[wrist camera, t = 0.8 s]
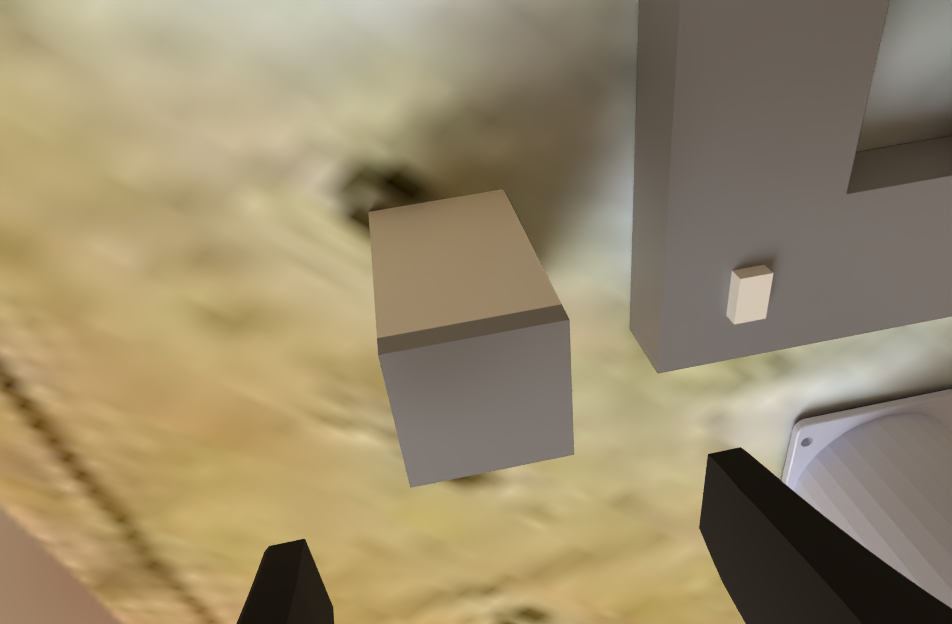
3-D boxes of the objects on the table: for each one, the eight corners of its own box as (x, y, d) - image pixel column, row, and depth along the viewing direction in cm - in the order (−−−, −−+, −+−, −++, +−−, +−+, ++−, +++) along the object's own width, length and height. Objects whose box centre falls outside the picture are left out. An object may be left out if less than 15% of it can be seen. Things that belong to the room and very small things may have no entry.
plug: (513, 301, 22) (573, 454, 16) (393, 323, 21) (410, 487, 16) (503, 188, 19) (569, 319, 14) (368, 211, 19) (377, 355, 13)
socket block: (1048, 250, 24) (1127, 292, 22) (630, 329, 23) (663, 383, 21) (1308, -351, 15) (1493, -396, 13) (646, -274, 14) (710, -306, 12)
